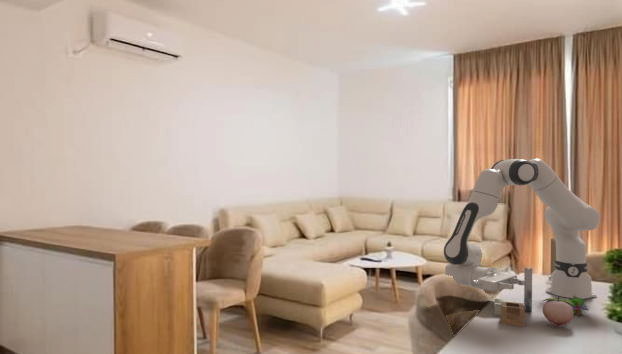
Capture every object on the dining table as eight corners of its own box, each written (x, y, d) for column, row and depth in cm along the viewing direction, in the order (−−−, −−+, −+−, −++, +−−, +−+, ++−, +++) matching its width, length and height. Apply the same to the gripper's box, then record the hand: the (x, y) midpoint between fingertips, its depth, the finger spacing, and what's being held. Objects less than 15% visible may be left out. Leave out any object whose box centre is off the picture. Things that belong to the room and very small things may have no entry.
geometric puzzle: (592, 314, 152) (587, 292, 157) (570, 312, 154) (566, 290, 159) (586, 321, 158) (581, 300, 163) (565, 319, 160) (561, 298, 164)
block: (494, 309, 164) (494, 298, 164) (514, 311, 161) (515, 301, 161) (494, 314, 157) (494, 303, 157) (516, 317, 154) (516, 306, 155)
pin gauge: (523, 310, 163) (524, 267, 163) (531, 310, 162) (531, 268, 162) (524, 312, 161) (524, 268, 161) (532, 312, 160) (532, 269, 160)
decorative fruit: (546, 329, 143) (546, 298, 143) (540, 321, 150) (540, 292, 150) (578, 332, 140) (578, 301, 140) (570, 324, 148) (570, 294, 148)
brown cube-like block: (501, 318, 154) (501, 301, 154) (523, 320, 151) (523, 303, 151) (501, 324, 147) (501, 306, 147) (524, 326, 144) (524, 308, 144)
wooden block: (579, 283, 207) (580, 241, 207) (556, 282, 209) (557, 240, 209) (571, 278, 217) (571, 238, 217) (549, 277, 219) (550, 237, 219)
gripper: (470, 274, 168) (505, 280, 158) (495, 267, 181) (530, 273, 171) (470, 290, 168) (505, 298, 158) (495, 282, 181) (529, 289, 171)
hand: (518, 285), depth 164 cm, fingers open, 8 cm apart
